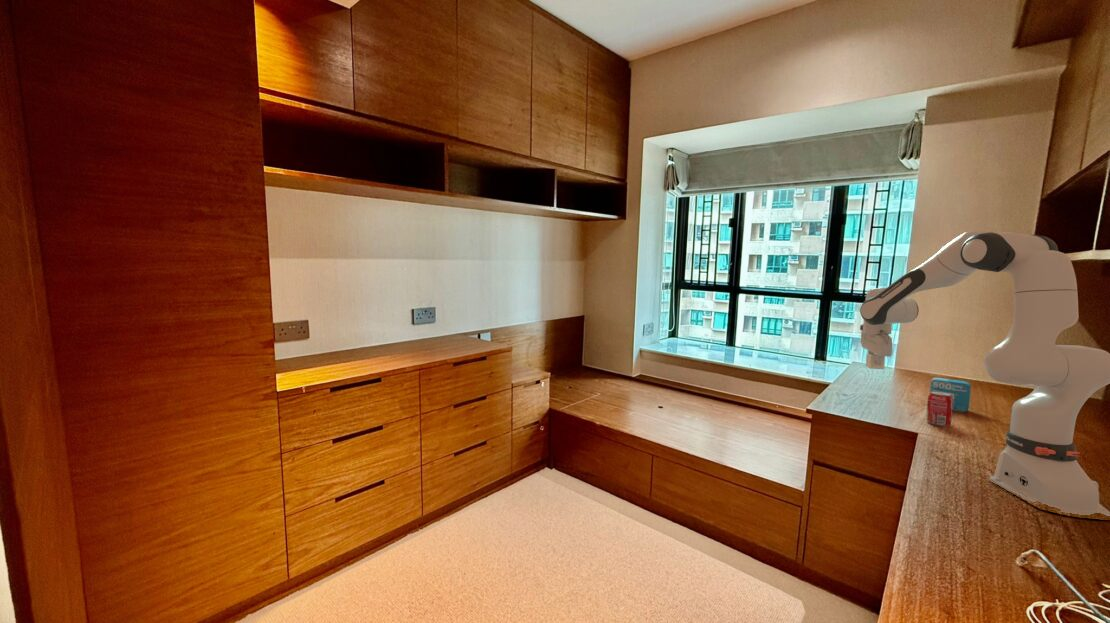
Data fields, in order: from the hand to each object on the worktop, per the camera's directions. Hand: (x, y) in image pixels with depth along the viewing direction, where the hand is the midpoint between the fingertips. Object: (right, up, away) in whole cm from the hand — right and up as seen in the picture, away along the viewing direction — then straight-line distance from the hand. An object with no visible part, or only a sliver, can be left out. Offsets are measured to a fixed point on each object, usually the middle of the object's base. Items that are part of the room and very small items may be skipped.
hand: (875, 363), depth 167 cm
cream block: (0, -2, 0) cm, 2 cm away
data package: (+37, -20, +9) cm, 43 cm away
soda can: (+18, -22, -8) cm, 30 cm away
